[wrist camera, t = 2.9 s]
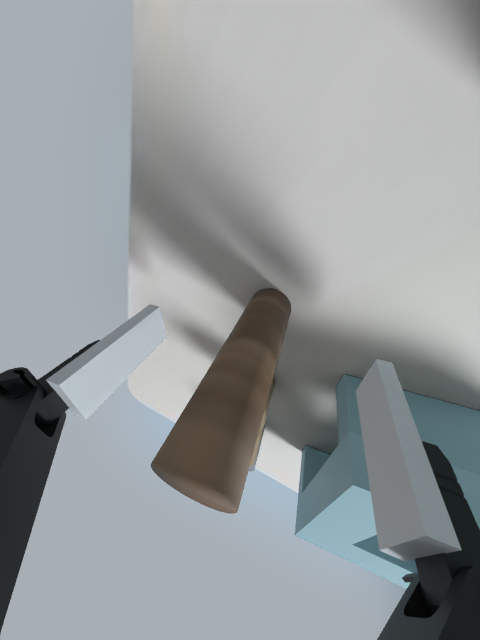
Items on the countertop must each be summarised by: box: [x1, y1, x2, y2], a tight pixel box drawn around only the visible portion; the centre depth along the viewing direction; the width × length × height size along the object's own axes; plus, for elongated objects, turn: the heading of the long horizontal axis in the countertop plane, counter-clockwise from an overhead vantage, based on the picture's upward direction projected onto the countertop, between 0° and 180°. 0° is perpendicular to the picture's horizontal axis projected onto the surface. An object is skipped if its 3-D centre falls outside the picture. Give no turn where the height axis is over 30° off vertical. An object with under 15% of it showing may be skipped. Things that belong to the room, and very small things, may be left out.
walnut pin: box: [151, 289, 291, 513], centre depth 11 cm, size 3×3×12 cm
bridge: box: [295, 374, 480, 589], centre depth 17 cm, size 16×12×8 cm
